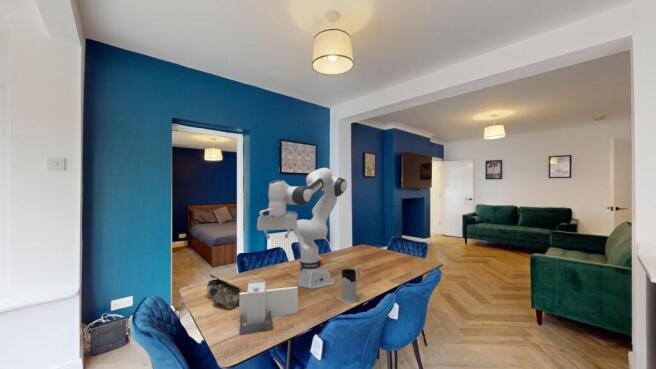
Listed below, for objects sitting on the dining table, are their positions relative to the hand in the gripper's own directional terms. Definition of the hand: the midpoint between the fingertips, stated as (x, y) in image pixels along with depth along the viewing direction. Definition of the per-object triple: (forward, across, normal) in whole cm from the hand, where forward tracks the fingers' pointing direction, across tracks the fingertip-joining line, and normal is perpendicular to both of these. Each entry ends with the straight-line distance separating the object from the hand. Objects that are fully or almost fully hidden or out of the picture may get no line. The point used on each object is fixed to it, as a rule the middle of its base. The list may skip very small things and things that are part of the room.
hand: (277, 238), depth 136 cm
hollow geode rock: (+33, +26, -12) cm, 44 cm away
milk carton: (+33, +11, +18) cm, 39 cm away
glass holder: (+33, -39, +5) cm, 52 cm away
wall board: (+33, +5, +13) cm, 36 cm away
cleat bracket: (+33, +11, +20) cm, 40 cm away
